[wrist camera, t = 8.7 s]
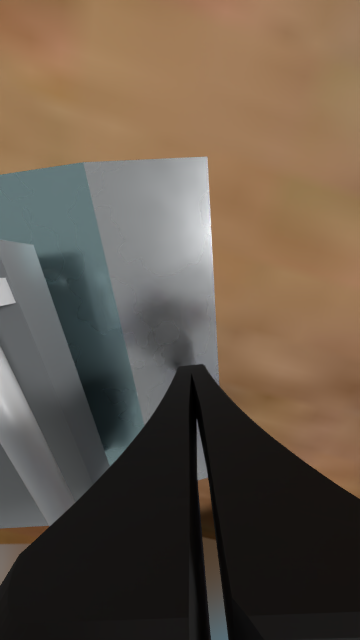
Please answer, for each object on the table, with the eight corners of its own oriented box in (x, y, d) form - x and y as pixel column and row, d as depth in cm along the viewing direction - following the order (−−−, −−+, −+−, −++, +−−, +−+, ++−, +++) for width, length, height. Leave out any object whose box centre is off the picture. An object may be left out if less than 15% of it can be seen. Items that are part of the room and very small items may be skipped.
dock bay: (222, 464, 14) (233, 519, 11) (6, 479, 14) (-39, 534, 11) (205, 164, 8) (220, 100, 5) (-161, 217, 8) (-344, 190, 6)
